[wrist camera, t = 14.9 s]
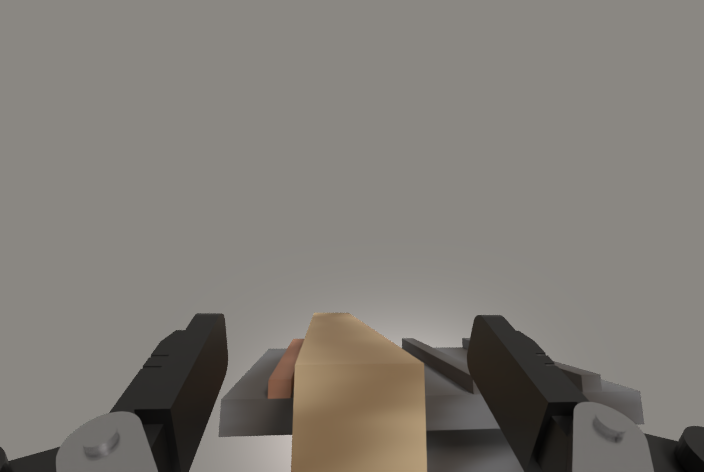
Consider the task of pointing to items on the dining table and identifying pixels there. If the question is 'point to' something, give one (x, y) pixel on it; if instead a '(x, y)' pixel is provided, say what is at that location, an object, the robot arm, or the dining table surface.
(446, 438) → the grey pedestal stand
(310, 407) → the oak bar
